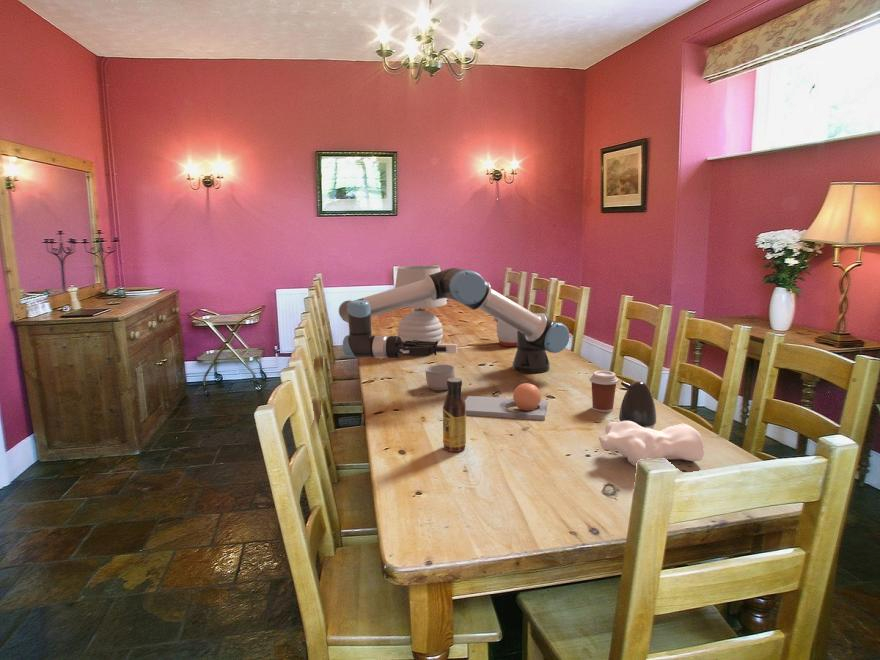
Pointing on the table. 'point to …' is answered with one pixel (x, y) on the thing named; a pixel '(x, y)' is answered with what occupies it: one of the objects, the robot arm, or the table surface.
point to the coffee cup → (603, 390)
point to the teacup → (439, 376)
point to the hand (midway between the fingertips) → (456, 348)
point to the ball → (527, 397)
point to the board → (501, 408)
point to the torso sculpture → (653, 442)
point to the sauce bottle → (454, 417)
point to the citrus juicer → (506, 334)
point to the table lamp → (419, 320)
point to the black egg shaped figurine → (638, 405)
